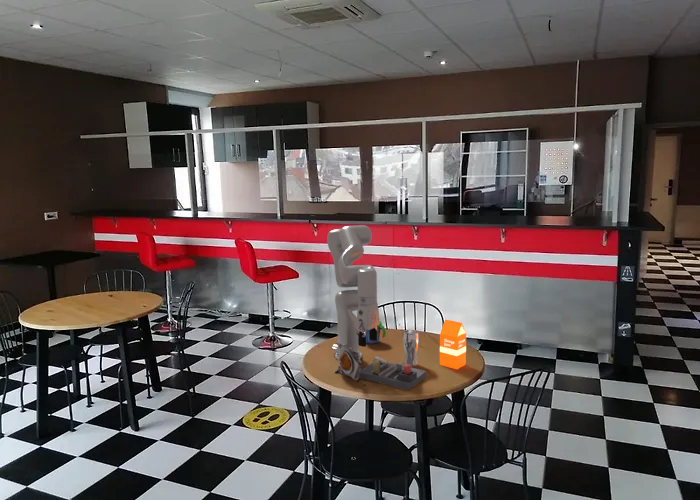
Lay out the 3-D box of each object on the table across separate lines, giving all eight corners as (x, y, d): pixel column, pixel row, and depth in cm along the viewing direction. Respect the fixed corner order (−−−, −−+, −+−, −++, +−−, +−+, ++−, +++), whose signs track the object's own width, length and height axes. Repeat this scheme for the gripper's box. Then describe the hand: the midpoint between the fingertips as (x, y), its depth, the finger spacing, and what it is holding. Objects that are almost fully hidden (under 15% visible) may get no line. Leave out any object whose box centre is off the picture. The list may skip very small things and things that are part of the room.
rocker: (373, 359, 228) (374, 357, 228) (376, 358, 230) (376, 356, 230) (385, 364, 225) (385, 362, 225) (387, 363, 227) (388, 361, 227)
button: (401, 374, 210) (401, 366, 209) (405, 371, 213) (405, 363, 212) (409, 376, 208) (409, 367, 208) (412, 373, 211) (412, 365, 210)
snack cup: (353, 341, 265) (352, 321, 264) (366, 336, 273) (366, 317, 272) (377, 347, 255) (377, 327, 254) (390, 342, 263) (390, 322, 261)
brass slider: (373, 373, 216) (372, 360, 215) (375, 371, 218) (375, 358, 217) (378, 374, 215) (378, 361, 214) (381, 373, 216) (381, 360, 215)
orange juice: (456, 369, 226) (457, 324, 223) (439, 364, 232) (439, 321, 229) (466, 364, 232) (466, 320, 229) (448, 359, 238) (449, 317, 235)
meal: (332, 373, 224) (332, 344, 222) (340, 370, 227) (340, 341, 225) (354, 384, 212) (354, 353, 210) (362, 381, 215) (362, 351, 213)
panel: (357, 377, 219) (357, 366, 218) (377, 365, 232) (377, 354, 231) (408, 390, 206) (408, 378, 205) (426, 376, 219) (426, 365, 218)
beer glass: (409, 368, 229) (409, 335, 226) (400, 362, 235) (400, 330, 232) (422, 365, 232) (422, 332, 229) (413, 360, 238) (413, 328, 236)
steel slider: (396, 371, 218) (396, 363, 218) (398, 369, 220) (398, 362, 219) (402, 372, 216) (402, 365, 216) (404, 371, 218) (404, 363, 217)
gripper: (363, 306, 196) (364, 351, 199) (386, 296, 210) (386, 338, 213) (347, 303, 200) (347, 347, 203) (370, 294, 215) (371, 335, 217)
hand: (367, 342), depth 208 cm, fingers open, 7 cm apart
